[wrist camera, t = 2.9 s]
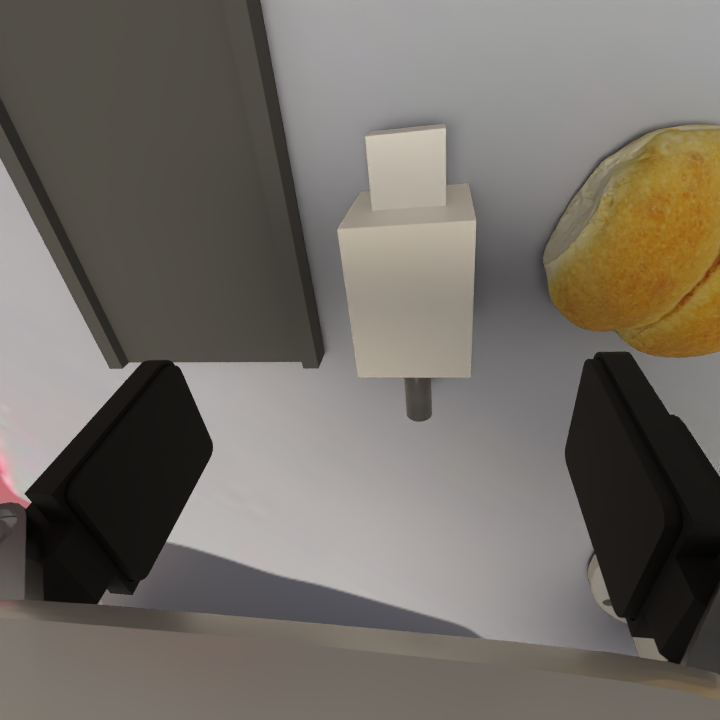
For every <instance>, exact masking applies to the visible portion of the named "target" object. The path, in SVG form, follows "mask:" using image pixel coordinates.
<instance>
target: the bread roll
mask: <svg viewBox="0 0 720 720" xmlns="http://www.w3.org/2000/svg"><path fill="white" fill-rule="evenodd" d="M543 264H544V267H545V271H546V274H547V280H548V289H549V295H550V298H551V301H552V302H553V304H554V305H555V306H556V307H557V308H558V310H559V311H560V312H561V313H562V314H563V315H564V316H565V317H566V318H567V319H568V320H569V321H571V322H572V323H574V324H576V325H577V326H579V327H581V328H584V329H587V330H592V331H612V330H616V331H617V332H618V334H619V335H620V337H621V338H622V339H623V340H624V341H625V342H627V343H628V344H629V345H631V346H632V347H634V348H635V349H637V350H638V351H641V352H644V353H647V354H650V355H654V356H661V357H692V356H700V355H706V354H710V353H715V352H718V351H720V125H713V124H692V125H681V126H677V127H670V128H663V129H658V130H655V131H653V132H650V133H647V134H646V135H644V136H642V137H640V138H638V139H636V140H634V141H633V142H631V143H630V144H628V145H627V146H625V147H623V148H622V149H620V150H619V151H618V152H616V153H615V154H613V155H611V156H609V157H608V158H606V159H605V160H604V161H602V162H601V163H600V165H599V166H598V167H597V168H596V169H595V171H594V172H593V173H592V174H591V176H590V177H589V179H588V180H587V181H586V183H585V184H584V185H583V187H582V188H581V189H580V190H579V191H578V192H577V194H576V195H575V196H574V197H573V199H572V201H571V202H570V204H569V205H568V207H567V209H566V211H565V212H564V214H563V216H562V217H561V218H560V220H559V223H558V225H557V227H556V229H555V230H554V231H553V233H552V235H551V237H550V240H549V241H548V243H547V245H546V248H545V251H544V256H543Z"/></svg>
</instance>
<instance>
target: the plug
mask: <svg viewBox="0 0 720 720" xmlns="http://www.w3.org/2000/svg"><path fill="white" fill-rule="evenodd" d="M365 141H366V152H367V163H368V173H369V184H370V191H365V192H360V193H359V195H358V196H357V198H356V200H355V201H354V203H353V204H352V206H351V208H350V209H349V211H348V212H347V214H346V216H345V217H344V219H343V221H342V222H341V224H340V225H339V227H338V229H337V232H338V239H339V246H340V253H341V260H342V268H343V275H344V282H345V289H346V296H347V303H348V310H349V318H350V325H351V332H352V339H353V346H354V353H355V360H356V367H357V375H358V377H385V378H405V391H406V406H407V416H408V417H409V418H410V419H411V420H413V421H425V420H427V419H429V418H430V417H431V415H432V403H431V378H471V355H472V327H473V299H474V271H475V243H476V216H475V212H474V207H473V202H472V197H471V192H470V187H469V183H465V184H453V185H446V123H445V124H436V125H426V126H417V127H407V128H398V129H388V130H379V131H370V132H369V133H368V134H367V135H366V136H365Z"/></svg>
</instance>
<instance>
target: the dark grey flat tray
mask: <svg viewBox="0 0 720 720" xmlns="http://www.w3.org/2000/svg"><path fill="white" fill-rule="evenodd" d="M0 158H1V160H2V162H3V164H4V166H5V168H6V170H7V172H8V174H9V175H10V177H11V179H12V181H13V183H14V185H15V187H16V189H17V191H18V193H19V195H20V197H21V199H22V200H23V202H24V204H25V206H26V208H27V210H28V212H29V214H30V216H31V218H32V220H33V222H34V224H35V225H36V227H37V229H38V231H39V233H40V235H41V237H42V239H43V241H44V243H45V245H46V247H47V249H48V250H49V252H50V254H51V256H52V258H53V260H54V262H55V264H56V266H57V268H58V270H59V272H60V274H61V275H62V277H63V279H64V281H65V283H66V285H67V287H68V289H69V291H70V293H71V295H72V297H73V299H74V300H75V302H76V304H77V306H78V308H79V310H80V312H81V314H82V316H83V318H84V320H85V322H86V324H87V326H88V327H89V329H90V331H91V333H92V335H93V337H94V339H95V341H96V343H97V345H98V347H99V349H100V351H101V352H102V354H103V356H104V358H105V360H106V362H107V364H108V366H109V368H110V369H123V368H124V367H125V366H126V365H127V364H128V363H129V362H144V361H147V360H170V361H172V362H302V365H303V368H319V366H320V363H321V361H322V358H323V356H324V353H325V352H324V347H323V341H322V336H321V331H320V325H319V320H318V314H317V309H316V303H315V298H314V292H313V287H312V282H311V276H310V271H309V265H308V260H307V254H306V249H305V244H304V238H303V233H302V227H301V222H300V216H299V211H298V205H297V200H296V195H295V189H294V184H293V178H292V173H291V167H290V162H289V156H288V151H287V146H286V140H285V135H284V129H283V124H282V118H281V113H280V107H279V102H278V97H277V91H276V86H275V80H274V75H273V69H272V64H271V58H270V53H269V48H268V42H267V37H266V31H265V26H264V20H263V15H262V10H261V4H260V0H0Z"/></svg>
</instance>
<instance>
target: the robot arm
mask: <svg viewBox="0 0 720 720" xmlns="http://www.w3.org/2000/svg"><path fill="white" fill-rule="evenodd" d="M212 451H213V443H212V440H211V438H210V436H209V433H208V431H207V429H206V426H205V424H204V422H203V420H202V417H201V415H200V413H199V410H198V408H197V406H196V403H195V401H194V399H193V396H192V394H191V392H190V390H189V387H188V385H187V383H186V380H185V378H184V376H183V373H182V371H181V369H180V368H179V367H178V366H175V365H174V363H173V362H172V361H170V360H147V361H144V362H143V363H141V365H140V366H139V367H138V368H137V369H136V370H135V371H134V372H133V373H132V375H131V376H130V377H129V378H128V379H127V380H126V381H125V382H124V383H123V385H122V386H121V387H120V388H119V389H118V390H117V391H116V392H115V393H114V395H113V396H112V397H111V398H110V399H109V400H108V401H107V402H106V403H105V405H104V406H103V407H102V408H101V409H100V410H99V411H98V412H97V413H96V415H95V416H94V417H93V418H92V419H91V420H90V421H89V422H88V423H87V425H86V426H85V427H84V428H83V429H82V430H81V431H80V432H79V434H78V435H77V436H76V437H75V438H74V439H73V440H72V441H71V442H70V444H69V445H68V446H67V447H66V448H65V449H64V450H63V451H62V452H61V454H60V455H59V456H58V457H57V458H56V459H55V460H54V461H53V462H52V464H51V465H50V466H49V467H48V468H47V469H46V470H45V471H44V472H43V474H42V475H41V476H40V477H39V478H38V479H37V480H36V481H35V482H34V484H33V485H32V486H31V487H30V488H29V489H28V490H27V491H26V492H25V495H26V496H27V497H28V498H29V499H30V501H31V502H32V503H31V504H30V505H29V506H28V507H27V509H25V508H24V507H23V506H21V505H20V504H19V503H12V502H9V503H2V504H0V720H720V477H719V475H718V474H717V472H716V471H715V469H714V468H713V466H712V465H711V463H710V462H709V460H708V459H707V457H706V456H705V454H704V453H703V451H702V449H701V448H700V446H699V445H698V443H697V442H696V440H695V439H694V437H693V436H692V434H691V433H690V431H689V430H688V428H687V427H686V425H685V424H684V423H683V422H682V420H681V419H680V418H679V417H677V416H675V415H670V414H669V413H668V411H667V410H666V408H665V407H664V405H663V403H662V402H661V400H660V399H659V397H658V396H657V394H656V393H655V391H654V389H653V388H652V386H651V385H650V383H649V382H648V380H647V378H646V377H645V375H644V374H643V372H642V371H641V369H640V368H639V366H638V364H637V363H636V361H635V360H634V358H633V357H632V355H631V354H630V353H629V352H598V353H596V354H595V356H594V359H587V360H586V361H585V363H584V367H583V371H582V376H581V380H580V385H579V389H578V393H577V398H576V402H575V407H574V411H573V416H572V420H571V425H570V429H569V434H568V438H567V443H566V447H565V459H566V464H567V467H568V471H569V474H570V477H571V480H572V483H573V486H574V489H575V492H576V495H577V498H578V502H579V505H580V508H581V511H582V514H583V517H584V520H585V523H586V526H587V530H588V533H589V536H590V539H591V542H592V545H593V548H594V551H595V555H594V556H593V558H592V560H591V562H590V564H589V568H588V579H589V584H590V588H591V592H592V594H593V596H594V599H595V601H596V602H597V603H598V604H599V606H600V607H601V608H602V609H603V610H604V611H606V612H607V613H608V614H610V615H611V616H612V617H614V618H616V619H618V620H620V621H622V622H624V623H626V624H628V627H629V630H630V633H631V636H632V637H633V640H634V644H635V647H636V650H637V653H638V656H639V657H635V656H628V655H622V654H616V653H608V652H599V651H590V650H581V649H572V648H564V647H555V646H546V645H537V644H528V643H519V642H510V641H499V640H489V639H478V638H468V637H457V636H445V635H435V634H425V633H414V632H404V631H393V630H383V629H372V628H361V627H350V626H339V625H327V624H317V623H306V622H295V621H283V620H272V619H260V618H250V617H239V616H227V615H216V614H204V613H192V612H180V611H169V610H156V609H145V608H133V607H121V606H109V605H102V599H101V597H102V596H103V594H104V592H105V591H106V589H108V590H109V592H110V593H115V594H128V595H133V593H134V591H135V589H136V587H137V585H138V583H139V582H140V580H143V579H145V578H146V577H147V575H148V574H149V572H150V570H151V569H152V567H153V565H154V563H155V561H156V559H157V557H158V555H159V553H160V552H161V550H162V548H163V546H164V544H165V542H166V540H167V538H168V537H169V535H170V533H171V531H172V529H173V527H174V525H175V523H176V521H177V520H178V518H179V516H180V514H181V512H182V510H183V508H184V506H185V504H186V503H187V501H188V499H189V497H190V495H191V493H192V491H193V489H194V487H195V486H196V484H197V482H198V480H199V478H200V476H201V474H202V472H203V470H204V469H205V467H206V465H207V463H208V461H209V459H210V457H211V455H212Z"/></svg>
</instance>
